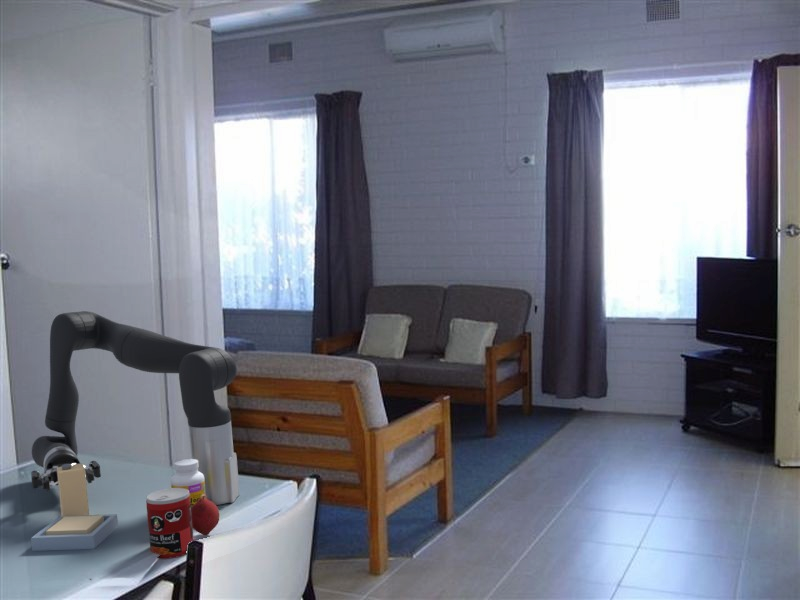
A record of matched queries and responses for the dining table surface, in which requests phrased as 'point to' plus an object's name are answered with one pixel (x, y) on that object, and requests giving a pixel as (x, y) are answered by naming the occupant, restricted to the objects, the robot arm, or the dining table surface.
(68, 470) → the carton
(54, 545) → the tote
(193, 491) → the supplement bottle
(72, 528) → the beige slab
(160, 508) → the canned food
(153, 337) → the robot arm
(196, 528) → the onion
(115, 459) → the dining table surface
